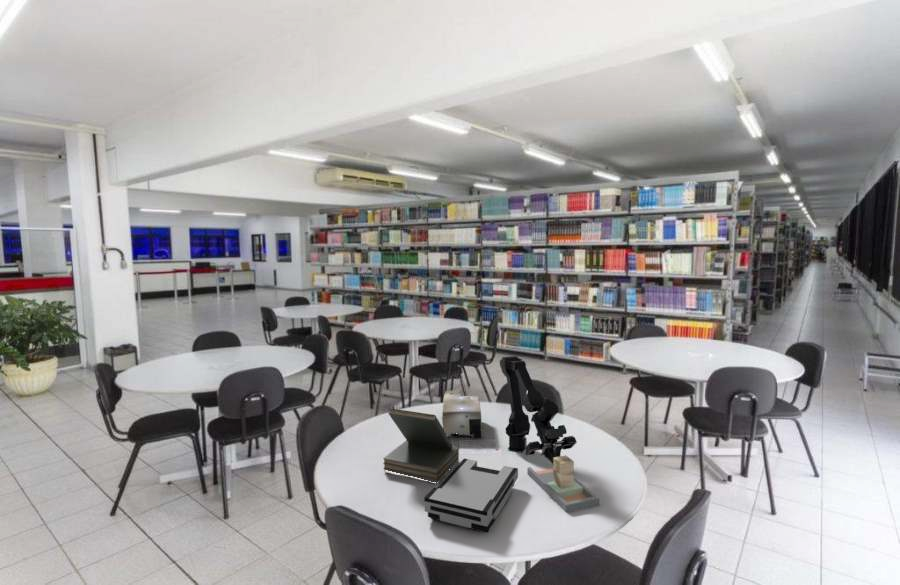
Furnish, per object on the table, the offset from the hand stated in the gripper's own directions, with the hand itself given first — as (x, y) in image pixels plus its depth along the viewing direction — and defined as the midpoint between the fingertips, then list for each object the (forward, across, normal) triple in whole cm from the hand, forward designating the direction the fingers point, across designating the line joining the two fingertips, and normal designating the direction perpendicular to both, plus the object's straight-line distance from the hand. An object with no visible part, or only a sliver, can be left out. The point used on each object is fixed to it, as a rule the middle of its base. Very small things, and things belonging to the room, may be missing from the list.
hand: (559, 468), depth 164 cm
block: (+5, 0, +1) cm, 5 cm away
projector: (-41, -16, +51) cm, 67 cm away
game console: (+5, -32, +6) cm, 33 cm away
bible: (-17, -42, +27) cm, 53 cm away
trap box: (+6, 0, +4) cm, 7 cm away
